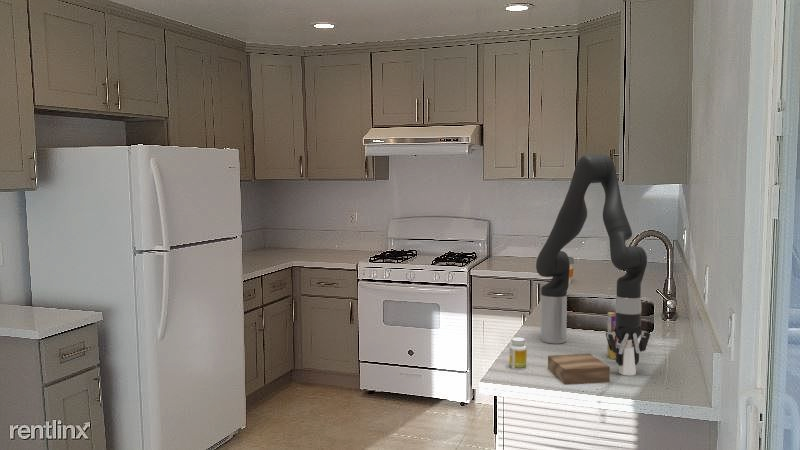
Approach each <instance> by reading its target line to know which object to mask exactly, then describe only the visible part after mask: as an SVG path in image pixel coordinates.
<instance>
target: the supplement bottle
mask: <svg viewBox="0 0 800 450" xmlns="http://www.w3.org/2000/svg"><path fill="white" fill-rule="evenodd" d="M525 341H526V340H525V338H524V337H512V339H511V344H510V346H509V363H508V364H509V368H510V367H511V368H510V369H512V370H517V371H518V370H521V371H522V370H525V369H527V351H528V350H527V349H528V348H527V346H526V345H525V343H526V342H525Z"/></svg>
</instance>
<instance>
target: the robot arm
mask: <svg viewBox="0 0 800 450" xmlns="http://www.w3.org/2000/svg"><path fill="white" fill-rule="evenodd" d="M598 183H599V184H601V186H602V188H603V190H604V197H605V199H604V204H603V209H602V220H603V224H604V228H605V230H606V233H607V235H608V237H609V239H608V240H609V253H610V260H611V263H612V264H613V266H614V267H615V268H616V269H618V270H620V271H626V273H625V274H624V275H622V276H620V277H619V278H618V279H616V299H615V310H614V311H615V325H616V327H615V330H614V332H611V333H608V332H606V333H605V337H606V338H605V339H606V340H607V341H606V342H607V345H608V344H609V348H610V350H611V351H613V352H614V353H616V359H615V363H616V364H617V365H618V366H619V365H620V366H622V365H623V354H622V352H623V349H624V347H625V345H626V344H627V340H632V346H633V347H634V356H635V366H637V365H638V364H639V362H640V353H641V352H644V351H646V349H647V346H648V342H649V339H650V337H651V333H650V332H648V331H646V330H642V327H641V326H642V310H643V309H642V299H641V297H642V296H641V295H642V294H641V289H642V281H643V278H644V276H645V275H644V274H645V272H646V268H647V263H648V256H647V252H646V251H645V249H644V248H643V247H642V246H640V245H632V246H627V245H626V241H628V240H630V239H631V238H632V236H633V231H632V228H631V225H630V223H629V219H628V217H627V214H626V211H625V209H624V204H623V201H622V196H621V189H620V185H619V181H618V175H617V170H616V167H615V163H614V161H613V159H612V157H611V156H609V155H608V154H585V155H582V156H581V157H580V158H579V159H578V161H577V162H576V164H575V167H574V171H573V173H572V177H571V181H570V184H569V188H568V190H567V193H566V195H565V198H564V200H563V204H562V205H561V207H560V209H559V212H558V214H557V217H556V219H555V221H554V224H553V227H552V229H551V232H550V233H549V236H548V238H547V239H546V241H545V242H544V245H543V246H542V248H541V250H540V252H539V254H538V256H537V258H536V263H535V266H536V267H535V268H536V272H537V274H538V275H539V276H541V277H544V278H552V279H550V281H548V282H547V283H546V284H543V285H542V286H541V288H540V341H541V342H543V343H547V344H564V343H566V342H567V322H568V320H567V318H568V317H567V311H568V309H567V308H568V306H567V305H568V303H567V302H568V299H567V298H568V297H567V296H568V294H567V292H568V289H569V285H570V284H569V271H570V263H569V258H568V257H569V256H568V254H567V252H565V251H562V249H563V248H564V247H566V246H568V244H569V243H570V242H572V241H573V240H574V239H575V238H576V237H577V236H578V235H579V234H580V232H581V231H582V229H583V227H584V224H585V223H586V220H587V218H588V209H587V204H586V201H585V197H586V196H585V195H586V193H587V190H588V188H589V186H590V185H591V184H598ZM615 335H616V336H617V338H618V339H617V343H616V344H617V346H616V345H615V342H614V339H615ZM639 337H640V340H639ZM621 342H622V343H621Z"/></svg>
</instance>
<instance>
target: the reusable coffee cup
mask: <svg viewBox="0 0 800 450" xmlns="http://www.w3.org/2000/svg"><path fill="white" fill-rule="evenodd" d="M568 258H569V263H570V271H569V285H571V284H572V277H573V276H574V275H573V274H574V264H575V259H574V257H572V256H568Z"/></svg>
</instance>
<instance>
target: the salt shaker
mask: <svg viewBox="0 0 800 450" xmlns="http://www.w3.org/2000/svg"><path fill="white" fill-rule="evenodd" d="M622 354H623V365H622V366H620V365H618V374H620V375H622V376H629V377H631V376H636V374H637V370H636V369H637V368H636V366H637V365H635V356H634V347H633V346H632V340H627V344H626V345H625V347H624V349H623V352H622Z"/></svg>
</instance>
